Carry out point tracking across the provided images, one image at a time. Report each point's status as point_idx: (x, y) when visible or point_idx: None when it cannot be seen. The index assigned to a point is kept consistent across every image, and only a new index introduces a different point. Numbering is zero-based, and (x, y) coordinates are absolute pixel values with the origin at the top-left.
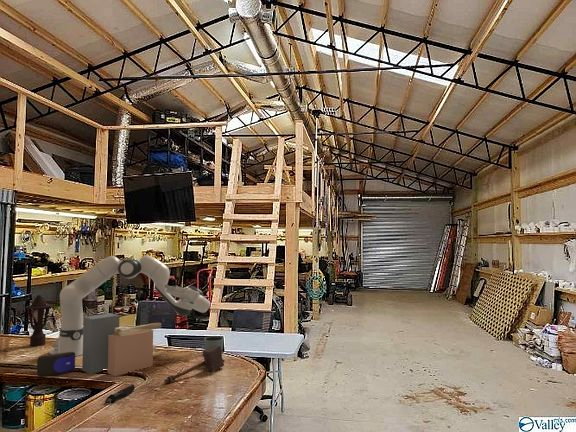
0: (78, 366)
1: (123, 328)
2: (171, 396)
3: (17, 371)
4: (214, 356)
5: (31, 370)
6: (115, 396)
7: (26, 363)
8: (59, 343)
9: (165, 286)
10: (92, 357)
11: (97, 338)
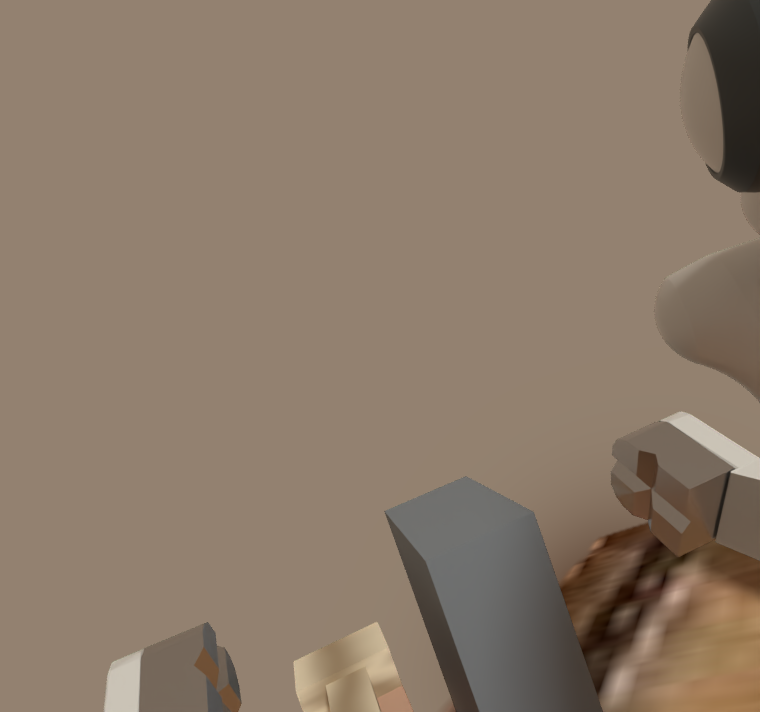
0: (629, 684)
1: (329, 660)
2: None
3: (608, 552)
4: None
5: (609, 574)
6: None
7: None
8: None
9: (626, 472)
10: (447, 685)
11: (425, 614)
